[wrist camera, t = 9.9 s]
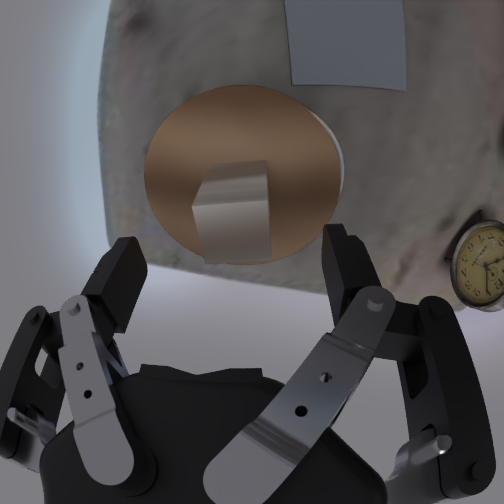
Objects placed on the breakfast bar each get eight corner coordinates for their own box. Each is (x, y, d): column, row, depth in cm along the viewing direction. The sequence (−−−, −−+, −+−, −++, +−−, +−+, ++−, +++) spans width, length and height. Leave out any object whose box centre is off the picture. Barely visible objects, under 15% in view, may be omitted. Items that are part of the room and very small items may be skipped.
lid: (131, 104, 14) (78, 129, 10) (337, 81, 13) (376, 94, 9) (173, 260, 22) (152, 321, 17) (332, 251, 21) (349, 314, 16)
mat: (280, -23, 15) (281, -25, 15) (397, -10, 14) (400, -11, 14) (291, 84, 22) (292, 84, 21) (403, 90, 21) (406, 91, 21)
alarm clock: (479, 198, 27) (553, 284, 14) (496, 214, 28) (561, 295, 16) (434, 260, 34) (484, 356, 21) (453, 270, 35) (500, 358, 22)
